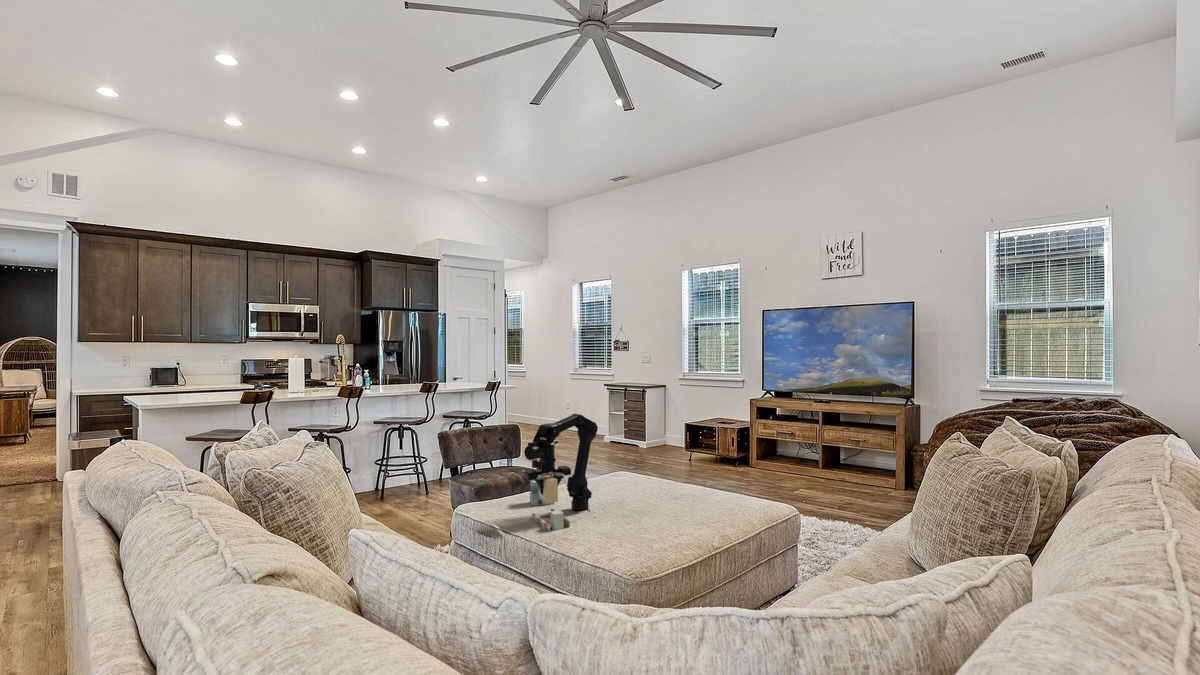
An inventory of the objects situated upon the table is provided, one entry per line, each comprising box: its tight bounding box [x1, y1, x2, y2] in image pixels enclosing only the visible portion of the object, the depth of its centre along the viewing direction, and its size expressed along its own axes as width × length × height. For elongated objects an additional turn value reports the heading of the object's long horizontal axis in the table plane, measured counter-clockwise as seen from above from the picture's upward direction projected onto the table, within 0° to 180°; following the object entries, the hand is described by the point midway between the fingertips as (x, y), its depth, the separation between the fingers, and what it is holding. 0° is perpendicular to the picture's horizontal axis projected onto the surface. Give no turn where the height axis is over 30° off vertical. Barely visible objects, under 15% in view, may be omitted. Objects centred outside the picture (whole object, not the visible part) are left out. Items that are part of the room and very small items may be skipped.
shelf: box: [531, 508, 571, 532], centre depth 241 cm, size 18×9×4 cm, turn 26°
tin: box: [549, 509, 565, 531], centre depth 235 cm, size 4×4×6 cm
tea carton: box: [539, 475, 559, 503], centre depth 243 cm, size 8×5×9 cm, turn 26°
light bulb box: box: [529, 480, 556, 507], centre depth 271 cm, size 11×7×11 cm, turn 105°
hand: (548, 493), depth 243 cm, fingers closed on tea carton, 5 cm apart
